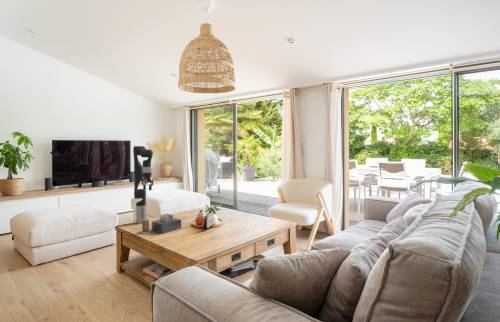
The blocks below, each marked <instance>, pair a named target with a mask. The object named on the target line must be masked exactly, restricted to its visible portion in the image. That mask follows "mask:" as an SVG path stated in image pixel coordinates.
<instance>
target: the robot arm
mask: <svg viewBox="0 0 500 322" xmlns="http://www.w3.org/2000/svg"><path fill="white" fill-rule="evenodd" d="M132 150H133V181H134V183H133V184H134V186H133V187H134V188H133V197H134V199H136V200H137V199H141V200H140V201H137V202H135V223H136V224H139V225H141V224H142V220H146V219H147V185H148V190H149V191H152V186H154V179H153V178H151V177H152V175H153V173H152V159H153V155H154V154H153V153H154V152H153V149H148V148H146V147H145V146H143V145H134V146H133V149H132ZM138 156H140V157H141V158H147V159H144V160H142V164H141V162H140V160H139V158H138ZM140 183H141V185H142V188H138V187H139V185H140Z"/></svg>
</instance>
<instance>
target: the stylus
mask: <svg viewBox="0 0 500 322" xmlns="http://www.w3.org/2000/svg"><path fill="white" fill-rule="evenodd" d="M149 230H150V220H149V219H147V218H146V220H142V229H141V231H142V232H148V231H149Z"/></svg>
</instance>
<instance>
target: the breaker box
mask: <svg viewBox="0 0 500 322" xmlns="http://www.w3.org/2000/svg"><path fill="white" fill-rule="evenodd" d="M165 215H169V216H165ZM181 229H182V219H180V218H174V216H173V214H170V213H165V214H161V215H159V219H157V220H152V221H151V231H153V232H156V233H160V234H167V233H170V232H173V231H177V230H181Z"/></svg>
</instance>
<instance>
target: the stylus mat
mask: <svg viewBox="0 0 500 322" xmlns="http://www.w3.org/2000/svg"><path fill="white" fill-rule="evenodd" d="M153 232H154V231H152V229H149V231H148V232H142V230H140V231H138V232H137V233H139V234H142V235H147V234H150V233H153Z"/></svg>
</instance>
